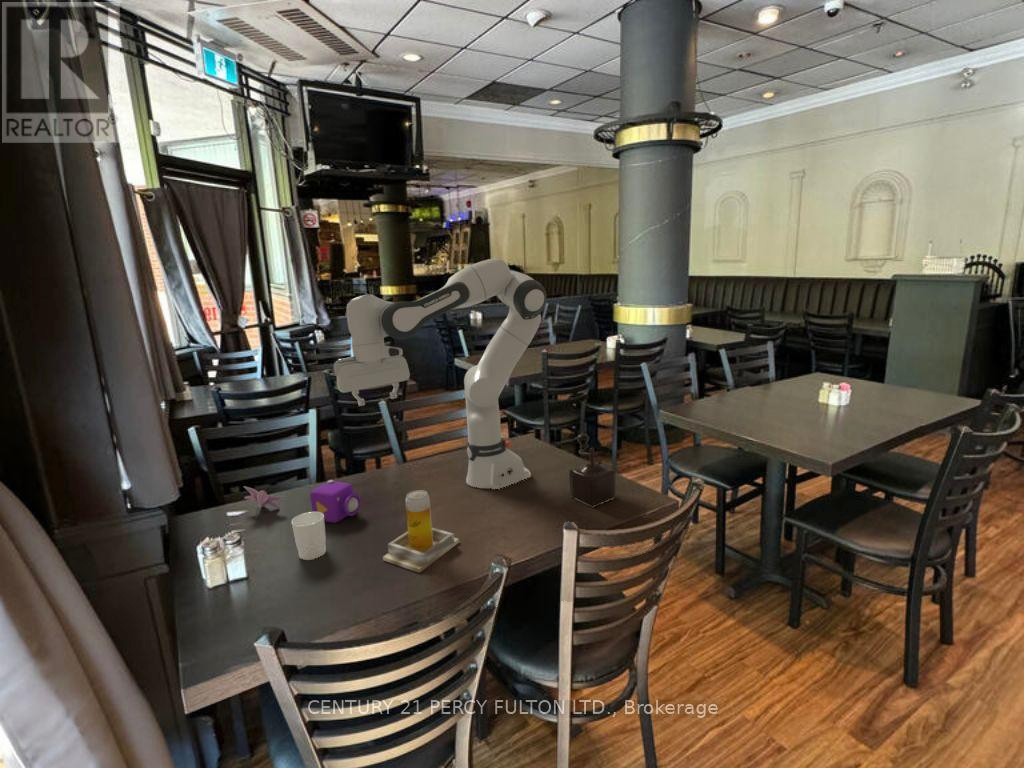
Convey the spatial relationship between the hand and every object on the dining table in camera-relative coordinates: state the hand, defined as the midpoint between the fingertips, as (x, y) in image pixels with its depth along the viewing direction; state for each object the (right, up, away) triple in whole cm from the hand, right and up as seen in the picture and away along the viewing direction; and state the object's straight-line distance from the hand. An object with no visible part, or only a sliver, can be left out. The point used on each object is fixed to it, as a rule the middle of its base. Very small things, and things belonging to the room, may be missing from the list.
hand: (378, 401), depth 149 cm
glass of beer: (+15, -38, -13) cm, 42 cm away
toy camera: (-14, -35, +9) cm, 39 cm away
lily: (-38, -35, +13) cm, 54 cm away
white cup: (-14, -40, -11) cm, 44 cm away
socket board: (+15, -38, -13) cm, 43 cm away
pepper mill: (+62, -30, +16) cm, 71 cm away
